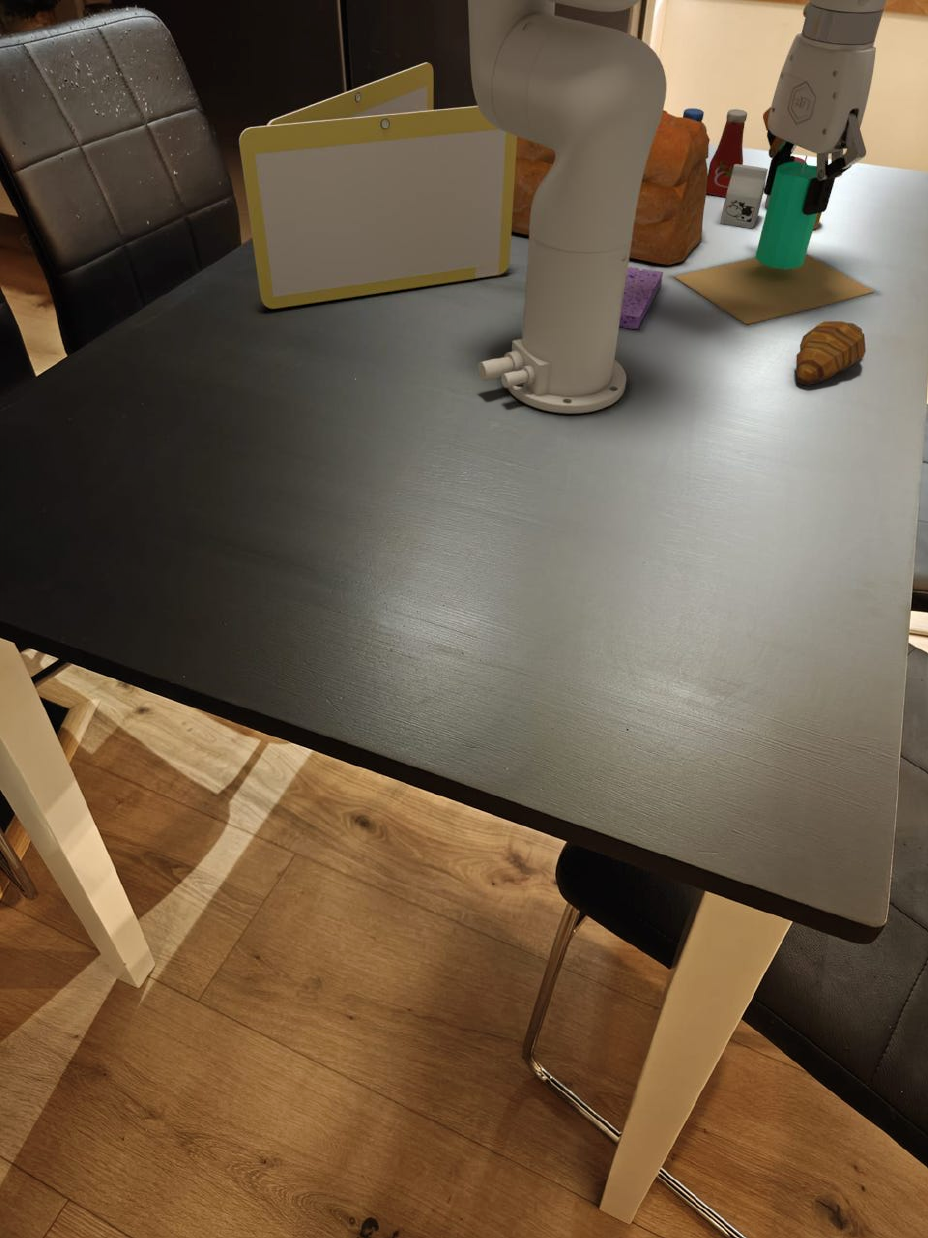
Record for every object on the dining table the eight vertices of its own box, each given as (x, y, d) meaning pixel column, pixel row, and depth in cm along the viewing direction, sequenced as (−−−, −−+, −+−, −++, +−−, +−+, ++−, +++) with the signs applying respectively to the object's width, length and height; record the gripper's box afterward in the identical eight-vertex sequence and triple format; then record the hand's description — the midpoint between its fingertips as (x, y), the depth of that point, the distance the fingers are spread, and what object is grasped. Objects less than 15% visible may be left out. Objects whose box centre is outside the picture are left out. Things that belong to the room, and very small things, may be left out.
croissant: (831, 400, 93) (847, 355, 89) (770, 378, 96) (783, 334, 92) (880, 351, 100) (896, 308, 97) (822, 332, 103) (835, 290, 100)
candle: (795, 273, 110) (825, 168, 101) (748, 261, 112) (773, 157, 103) (810, 256, 113) (839, 153, 105) (763, 244, 116) (789, 143, 107)
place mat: (746, 325, 104) (747, 323, 104) (673, 277, 113) (674, 275, 113) (873, 292, 111) (874, 290, 111) (795, 249, 120) (796, 248, 120)
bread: (675, 272, 114) (699, 143, 104) (486, 230, 123) (490, 106, 112) (707, 234, 123) (732, 111, 112) (529, 197, 132) (536, 80, 121)
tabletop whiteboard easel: (410, 211, 127) (407, 51, 113) (547, 247, 119) (561, 79, 105) (244, 307, 105) (214, 123, 91) (398, 358, 98) (391, 165, 84)
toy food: (623, 207, 130) (636, 114, 121) (645, 178, 138) (659, 90, 129) (813, 239, 123) (841, 143, 114) (825, 207, 131) (851, 115, 122)
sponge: (661, 286, 111) (663, 271, 110) (637, 331, 103) (640, 315, 102) (605, 276, 113) (607, 261, 112) (578, 319, 105) (579, 304, 103)
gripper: (758, 11, 99) (722, 183, 112) (875, 48, 88) (820, 234, 101) (810, 5, 102) (769, 174, 114) (930, 41, 91) (870, 223, 104)
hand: (794, 201), depth 108 cm, fingers closed on candle, 6 cm apart
